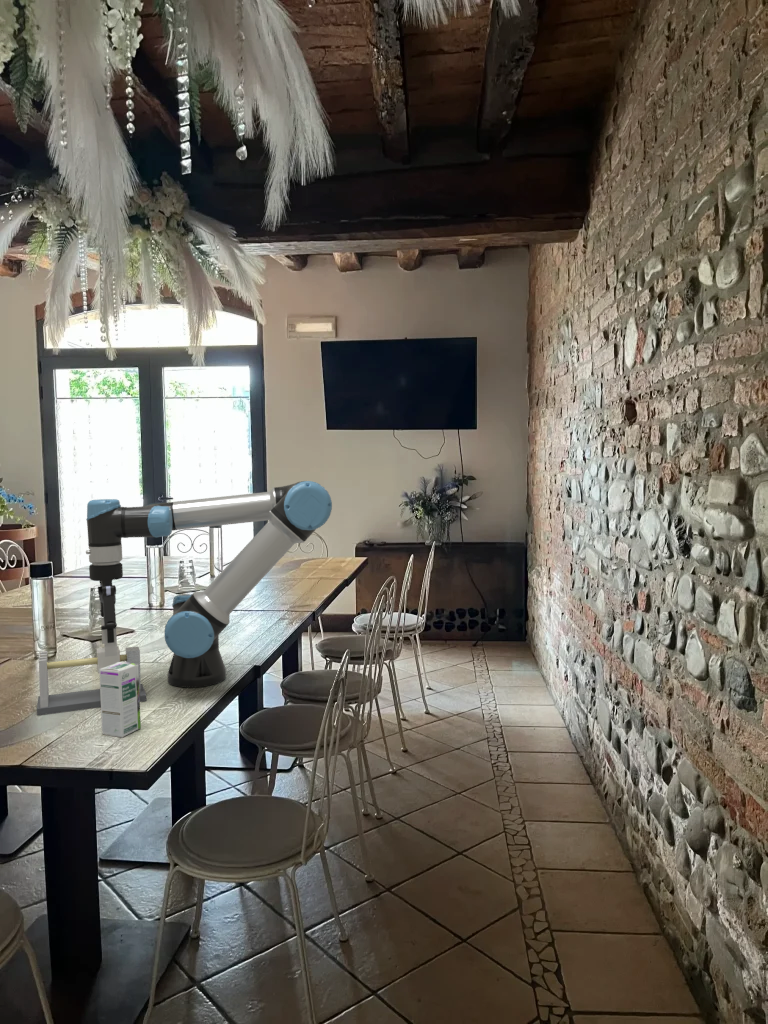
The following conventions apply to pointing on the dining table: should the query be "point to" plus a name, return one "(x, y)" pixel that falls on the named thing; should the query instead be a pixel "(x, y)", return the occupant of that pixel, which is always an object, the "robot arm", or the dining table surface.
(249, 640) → the dining table surface
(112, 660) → the sleeve
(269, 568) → the robot arm
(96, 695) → the cable comb board
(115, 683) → the syrup box
